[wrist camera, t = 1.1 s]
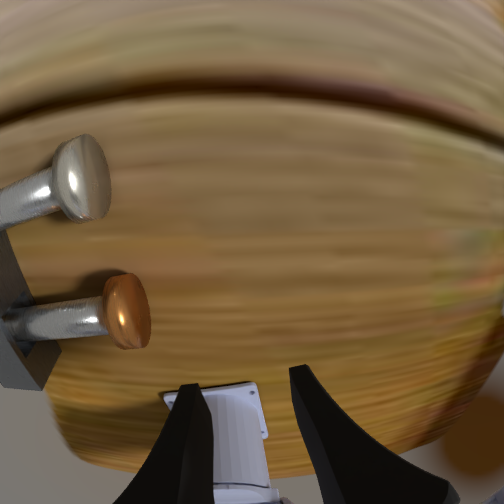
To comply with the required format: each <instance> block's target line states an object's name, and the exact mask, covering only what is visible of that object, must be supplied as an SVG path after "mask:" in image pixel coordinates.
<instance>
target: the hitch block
mask: <svg viewBox="0 0 504 504" xmlns="http://www.w3.org/2000/svg"><path fill="white" fill-rule="evenodd" d="M31 306H37V305H36V303H35V301H34V299H33V297H32V295H31V293H30V290H29V288H28V286H27V284H26V282H25V279H24V277H23V275H22V272H21V270H20V267H19V265H18V263H17V260H16V258H15V255H14V252H13V250H12V247H11V244H10V241H9V239H8V236H7V233H6V230H5V229H4V230H2V231H0V383H1V384H2V386H3V387H5V388H14V389H23V390H35V391H42V390H43V388H44V386H45V384H46V382H47V380H48V378H49V375H50V373H51V371H52V369H53V367H54V365H55V363H56V361H57V359H58V357H59V355H60V354H61V352H62V350H61V349H60V347H59V345H58V344H57V342H56V340H55V339H54V340H39V341H20V342H15V341H14V339H13V337H12V336H11V334H10V332H9V330H8V329H7V327H6V325H5V323H4V321H3V320H2V318H1V316H2V315H3V314H4V313H5V312H6V310H10V309H17V308H24V307H31Z"/></svg>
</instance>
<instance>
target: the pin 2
mask: <svg viewBox="0 0 504 504" xmlns="http://www.w3.org/2000/svg"><path fill="white" fill-rule="evenodd" d="M1 318H2V320H3V321H4V323H5V325H6V327H7V329H8V330H9V332H10V334H11V336H12V337H13V339H14V341H15V342H20V341H39V340H54V339H67V338H79V337H90V336H100V335H110V337H111V339H112V341H113V342H114V343H115V345H116V346H117V347H119V348H120V349H123V350H127V349H137V348H144V347H146V346H147V344H148V343H149V340H150V334H151V318H150V310H149V305H148V300H147V297H146V294H145V291H144V288H143V286H142V284H141V282H140V280H139V279H138V277H137V276H136V275H134V274H132V273H129V274H124V275H119V276H113V277H110V278H109V279H108V280H107V281H106V283H105V286H104V290H103V295H102V296H96V297H89V298H83V299H77V300H70V301H64V302H57V303H51V304H44V305H37V306H31V307H24V308H17V309H10V310H6V312H5V313H4V314H3V315H2V316H1Z"/></svg>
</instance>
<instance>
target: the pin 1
mask: <svg viewBox="0 0 504 504" xmlns="http://www.w3.org/2000/svg"><path fill="white" fill-rule="evenodd" d="M110 203H111V180H110V174H109V169H108V165H107V161H106V158H105V156H104V153H103V151H102V149H101V147H100V145H99V143H98V142H97V141H96V139H95V138H94V137H92V136H91V135H89V134H83V135H80V136H77V137H75V138H72V139H70V140H67V141H64V142H62V143H61V144H60V145H59V146H58V147H57V149H56V151H55V154H54V157H53V162H52V166H51V167H49V168H46V169H44V170H42V171H39V172H37V173H34V174H32V175H30V176H27V177H25V178H23V179H21V180H18V181H16V182H14V183H12V184H10V185H8V186H6V187H4V188H2V189H0V231H2V230H4V229H7V228H10V227H12V226H15V225H18V224H21V223H23V222H26V221H29V220H32V219H35V218H38V217H41V216H44V215H47V214H50V213H53V212H56V211H59V210H63V212H64V213H65V215H66V216H67V217H68V218H69V219H70V220H71V221H73V222H75V223H78V224H82V223H85V222H89V221H93V220H97V219H101V218H103V217H105V216H106V215H107V213H108V211H109V208H110Z"/></svg>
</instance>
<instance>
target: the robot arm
mask: <svg viewBox="0 0 504 504" xmlns="http://www.w3.org/2000/svg"><path fill="white" fill-rule="evenodd" d="M289 375H290V385H291V395H292V403H293V407H294V411H295V415H296V419H297V423H298V426H299V429H300V432H301V434H302V437H303V440H304V442H305V445H306V448H307V450H308V453H309V456H310V458H311V461H312V464H313V466H314V469H315V472H316V475H317V478H318V482H319V486H320V490H321V494H322V498H323V502H324V504H459V502H460V498H459V496H458V494H457V492H456V490H455V489H454V488H453V486H452V485H451V484H450V482H449V481H447V480H445V479H443V478H440V477H438V476H435V475H433V474H431V473H429V472H427V471H424V470H422V469H420V468H419V467H417V466H415V465H413V464H411V463H409V462H408V461H406V460H404V459H403V458H401V457H400V456H398V455H396V454H395V453H393V452H392V451H390V450H389V449H387V448H386V447H384V446H383V445H382V444H380V443H379V442H378V441H376V440H375V439H374V438H372V437H371V436H370V435H369V434H368V433H366V432H365V431H364V430H363V429H362V428H361V427H360V426H358V425H357V424H356V423H355V422H354V421H353V420H352V419H351V418H350V417H349V416H348V415H347V414H346V413H345V412H344V411H343V410H342V409H341V408H340V407H339V405H338V404H337V403H336V402H335V401H334V400H333V399H332V398H331V396H330V395H329V394H328V393H327V392H326V390H325V389H324V388H323V386H322V385H321V384H320V383H319V381H318V380H317V378H316V377H315V375H314V374H313V372H312V371H311V369H310V368H309V366H308V365H306V364H304V365H300V366H295V367H291V368H289ZM164 401H165V402H166V404H167V406H168V407H169V409H170V413H169V416H168V418H167V420H166V422H165V425H164V427H163V429H162V431H161V433H160V435H159V437H158V439H157V441H156V443H155V445H154V446H153V448H152V450H151V452H150V454H149V456H148V457H147V459H146V461H145V462H144V464H143V465H142V467H141V468H140V470H139V471H138V473H137V474H136V476H135V477H134V478H133V480H132V481H131V482H130V484H129V485H128V487H127V488H126V489H125V490H124V491H123V493H122V494H121V495H120V496H119V497H118V498H117V500H115V502H114V503H113V504H294V503H292V502H291V501H290V500H289V499H288V498H285V497H282V498H279V493H278V489H277V488H271V485H270V480H269V474H268V469H267V463H266V457H265V451H264V445H263V440H262V439H265V438H267V437H268V432H267V428H266V424H265V419H264V415H263V411H262V407H261V403H260V398H259V394H258V390H257V385H256V384H255V383H252V382H249V383H243V384H237V385H231V386H224V387H217V388H209V389H200V387H199V385H198V383H195V384H186V385H181V386H180V388H179V391H178V392H172V393H165V394H164ZM480 504H504V486H503V487H501V488H500V489H499V490H497V491H496V492H495V493H493V494H492V495H491V496H489V497H488V498H487V499H485V500H484V501H483V502H481V503H480Z"/></svg>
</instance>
